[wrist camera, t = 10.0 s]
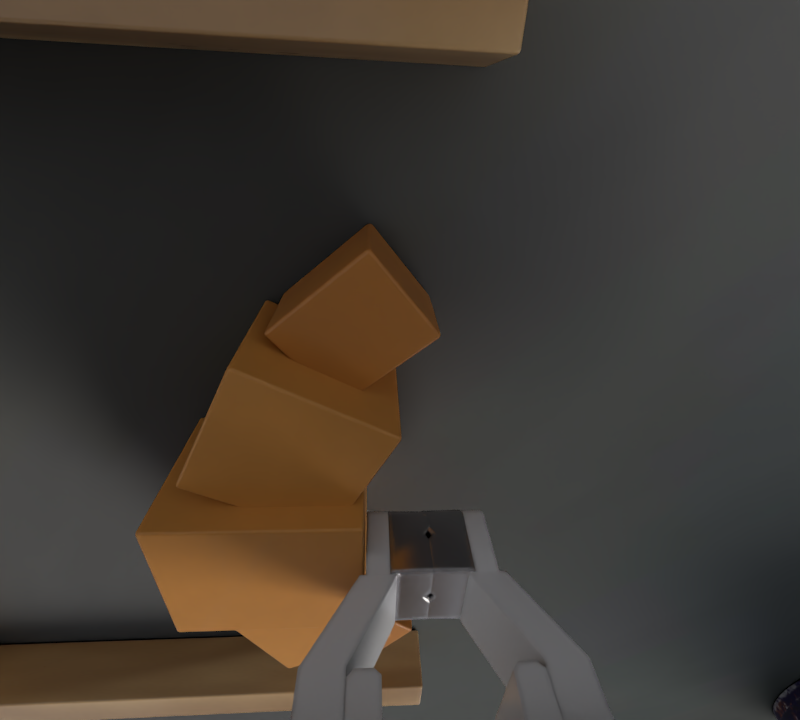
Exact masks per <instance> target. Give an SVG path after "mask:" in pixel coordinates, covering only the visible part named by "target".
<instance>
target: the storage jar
mask: <svg viewBox="0 0 800 720" xmlns="http://www.w3.org/2000/svg"><path fill="white" fill-rule="evenodd" d="M773 712H774V715H775V716H776V718H777V719H778V720H800V680H799V681H797V682H796V683H795V684H793V685H792V686H790V687H789V688H788V689H786V690H785V691H784V692H783V693H782V694H781V695H780V696H779V697H778V698H777V700H776V701H775V703H774V705H773Z"/></svg>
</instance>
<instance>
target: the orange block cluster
mask: <svg viewBox="0 0 800 720" xmlns="http://www.w3.org/2000/svg"><path fill="white" fill-rule="evenodd" d="M440 336H441V334H440V330H439V327H438V324H437V320H436V317H435V314H434V310H433V307H432V303H431V300H430V297H429V295H428V294H427V293H426V291H425V290H424V289H423V287H422V286H421V285H420V284H419V282H418V281H417V280H416V279H415V277H414V276H413V275H412V274H411V272H410V271H409V270H408V269H407V267H406V266H405V265H404V264H403V262H402V261H401V260H400V259H399V257H398V256H397V255H396V254H395V252H394V251H393V250H392V249H391V247H390V246H389V245H388V244H387V242H386V241H385V240H384V239H383V237H382V236H381V235H380V234H379V232H378V231H377V230H376V229H375V227H374V226H373V225H372V224H367V225H366V226H364V227H363V228H362V229H361V230H360V231H358V232H357V233H356V234H355V235H354V236H352V237H351V238H350V239H349V240H348V241H346V242H345V243H344V244H343V245H342V246H340V247H339V248H338V249H337V250H336V251H334V252H333V253H332V254H331V255H330V256H328V257H327V258H326V259H325V260H324V261H322V262H321V263H320V264H319V265H317V266H316V267H315V268H314V269H313V270H311V271H310V272H309V273H308V274H307V275H305V276H304V277H303V278H302V279H301V280H299V281H298V282H297V283H296V284H295V285H293V286H292V287H291V288H290V289H289V290H287V291H286V292H285V293H284V294H283V296H282V298H281V300H280V302H279V304H275V303H273V302H271V301H269V300H267V301H265V303H264V304H263V306H262V308H261V310H260V311H259V313H258V315H257V317H256V318H255V320H254V322H253V324H252V325H251V327H250V329H249V330H248V332H247V334H246V336H245V337H244V339H243V341H242V343H241V344H240V346H239V348H238V350H237V351H236V353H235V355H234V357H233V358H232V360H231V362H230V364H229V365H228V367H227V369H226V371H225V373H224V376H223V378H222V380H221V382H220V385H219V387H218V389H217V392H216V394H215V396H214V398H213V401H212V403H211V405H210V407H209V410H208V412H207V414H206V417H205V418H201V419H200V420H199V422H198V424H197V425H196V427H195V429H194V431H193V433H192V434H191V436H190V438H189V440H188V441H187V443H186V445H185V447H184V448H183V450H182V452H181V454H180V455H179V457H178V459H177V461H176V463H175V464H174V466H173V468H172V470H171V471H170V473H169V475H168V477H167V478H166V480H165V482H164V484H163V485H162V487H161V489H160V491H159V493H158V494H157V496H156V498H155V500H154V501H153V503H152V505H151V507H150V508H149V510H148V512H147V514H146V515H145V517H144V519H143V521H142V523H141V524H140V526H139V528H138V530H137V531H136V535H135V536H136V538H137V540H138V543H139V545H140V547H141V549H142V552H143V554H144V556H145V559H146V561H147V563H148V565H149V568H150V570H151V572H152V575H153V577H154V579H155V581H156V584H157V586H158V588H159V591H160V593H161V595H162V597H163V600H164V602H165V604H166V607H167V609H168V611H169V613H170V616H171V618H172V620H173V622H174V625H175V627H176V629H177V631H178V632H199V631H228V630H236V631H237V632H239V633H240V634H242V635H243V636H244V637H246V638H247V639H248V640H250V641H251V642H253V643H254V644H255V645H257V646H258V647H259V648H261V649H262V650H264V651H265V652H266V653H268V654H269V655H270V656H272V657H273V658H275V659H276V660H277V661H279V662H280V663H281V664H283V665H284V666H286V667H287V668H292V667H296V666H299V665H300V664H301V663H302V661H303V660H304V658H305V657H306V655H307V654H308V652H309V651H310V649H311V648H312V646H313V645H314V643H315V642H316V640H317V639H318V637H319V636H320V634H321V633H322V631H323V630H324V628H325V627H326V625H327V623H328V622H329V620H330V619H331V617H332V616H333V614H334V613H335V611H336V610H337V608H338V607H339V605H340V604H341V602H342V601H343V599H344V598H345V596H346V595H347V593H348V592H349V590H350V589H351V587H352V586H353V584H354V583H355V581H356V580H357V578H358V577H359V575H366V531H367V517H366V515H367V485H368V484H369V482H370V481H371V480H372V478H373V477H374V476H375V474H376V473H377V472H378V470H379V469H380V468H381V466H382V465H383V464H384V462H385V461H386V460H387V458H388V457H389V456H390V454H391V453H392V452H393V450H394V449H395V448H396V446H397V445H398V444H399V442H400V441H401V426H400V413H399V401H398V389H397V377H396V367H398V366H399V365H401V364H402V363H404V362H405V361H406V360H408V359H409V358H411V357H412V356H414V355H415V354H417V353H418V352H420V351H421V350H422V349H424V348H425V347H427V346H428V345H430V344H431V343H433V342H434V341H435V340H437V339H438V338H439V337H440ZM411 630H412V624H411V620H400V621H395V624H394V626H393V628H392V630H391V633H390V635H389V637H388V639H387V641H386V643H385V645H384V647H383V648H385V647H386V646H388V645H389V644H391V643H393V642H394V641H396V640H397V639H399V638H401V637H402V636H404V635H405V634H407V633H409V632H410V631H411Z"/></svg>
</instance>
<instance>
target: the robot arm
mask: <svg viewBox="0 0 800 720" xmlns="http://www.w3.org/2000/svg"><path fill="white" fill-rule="evenodd" d="M456 618H460V621H461V623H462V624H463V626H464V627H465V629H466V630H467V632H468V633H469V634H470V636H471V637H472V639H473V640H474V642H475V643H476V645H477V646H478V648H479V649H480V650H481V652H482V653H483V655H484V656H485V658H486V659H487V661H488V662H489V664H490V665H491V666H492V668H493V669H494V671H495V672H496V674H497V675H498V677H499V678H500V679H501V681H502V682H503V684H504V685H505V687H506V690H505V693H504V696H503V699H502V701H501V704H500V707H499V710H498V712H497V715H496V718H495V720H614V717H613V715H612V712H611V710H610V707H609V705H608V702H607V700H606V697H605V695H604V692H603V690H602V687H601V685H600V682H599V680H598V677H597V675H596V672H595V670H594V667H593V664H592V662H591V659H590V657H589V656H588V655H587V654H586V653H585V652H584V651H583V650H582V649H581V648H580V647H579V646H578V644H577V643H576V642H575V641H574V640H573V639H572V638H571V637H570V636H569V635H568V634H567V633H566V632H565V631H564V630H563V629H562V628H561V627H560V626H559V625H558V624H557V623H556V622H555V621H554V620H553V619H552V618H551V617H550V616H549V615H548V614H547V613H546V612H545V611H544V610H543V609H542V608H541V606H540V605H539V604H538V603H537V602H536V601H535V600H534V599H533V598H532V597H531V596H530V595H529V594H528V593H527V592H526V591H525V590H524V589H523V588H522V587H521V586H520V585H519V584H518V583H517V582H516V581H515V580H514V579H513V578H512V577H511V576H510V575H509V574H508V573H507V572H506V571H500V570H499V567H498V563H497V559H496V556H495V552H494V549H493V545H492V542H491V538H490V534H489V531H488V527H487V524H486V520H485V517H484V513H483V512H482V511H481V510H461V511H460V510H438V511H421V512H396V511H388V512H367V531H366V575H359V577H358V578H357V580H356V581H355V583H354V584H353V586H352V587H351V589H350V590H349V592H348V593H347V595H346V596H345V598H344V599H343V601H342V602H341V604H340V605H339V607H338V608H337V610H336V611H335V613H334V614H333V616H332V617H331V619H330V620H329V622H328V623H327V625H326V627H325V628H324V630H323V631H322V633H321V634H320V636H319V637H318V639H317V640H316V642H315V643H314V645H313V646H312V648H311V649H310V651H309V652H308V654H307V655H306V657H305V658H304V660H303V661H302V663H301V664H300V666H299V667H298V670H297V677H296V684H295V691H294V698H293V705H292V712H291V719H290V720H383V718H382V675H381V674H380V673H379V672H378V671H377V670H376V669H375V668H374V666H375V664H376V662H377V660H378V658H379V655H380V653H381V651H382V649H383V647H384V645H385V643H386V641H387V639H388V637H389V635H390V633H391V630H392V628H393V626H394V624H395V621H400V620H415V619H456Z"/></svg>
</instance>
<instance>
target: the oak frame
mask: <svg viewBox="0 0 800 720" xmlns="http://www.w3.org/2000/svg"><path fill="white" fill-rule="evenodd" d="M528 1H529V0H0V38H11V39H27V40H44V41H61V42H77V43H94V44H110V45H127V46H144V47H160V48H177V49H194V50H210V51H227V52H244V53H260V54H277V55H294V56H310V57H327V58H343V59H360V60H377V61H393V62H410V63H427V64H443V65H460V66H477V67H486V66H489V65H491V64H494V63H497V62H499V61H502V60H504V59H507V58H509V57H512V56H514V55H517V54H519V53H520V51H521V46H522V40H523V33H524V27H525V20H526V14H527V7H528ZM299 666H300V665H299ZM299 666H296V667H292V668H287V667H286V666H284V665H283V664H281V663H280V662H279V661H277V660H276V659H275V658H273V657H272V656H270V655H269V654H268V653H266V652H265V651H264V650H262V649H261V648H259V647H258V646H257V645H255V644H254V643H253V642H251V641H250V640H248V639H247V638H246V637H215V638H186V639H157V640H129V641H100V642H71V643H42V644H14V645H0V720H100V719H121V718H142V717H164V716H185V715H206V714H227V713H248V712H270V711H291V710H292V705H293V698H294V691H295V684H296V677H297V670H298V667H299ZM374 668H375V669H376V670H377V671H378V672H379V673H380V674H381V675H382V706H397V705H418V704H420V699H421V692H422V674H421V663H420V651H419V639H418V631H410V632H409V633H407V634H405V635H404V636H402V637H401V638H399V639H397V640H396V641H394V642H393V643H391V644H389V645H388V646H386V647H385V648H383V649H382V651H381V653H380V655H379V658H378V660H377V662H376V664H375V666H374Z"/></svg>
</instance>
